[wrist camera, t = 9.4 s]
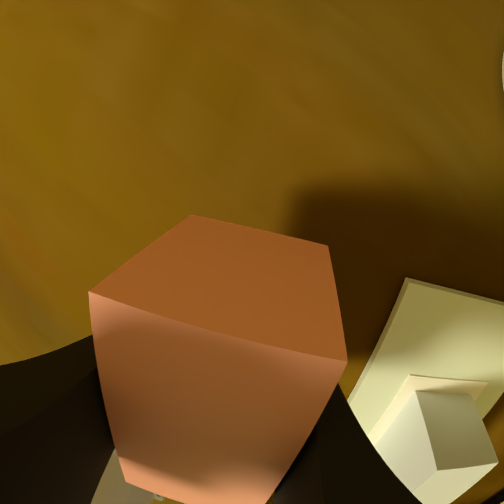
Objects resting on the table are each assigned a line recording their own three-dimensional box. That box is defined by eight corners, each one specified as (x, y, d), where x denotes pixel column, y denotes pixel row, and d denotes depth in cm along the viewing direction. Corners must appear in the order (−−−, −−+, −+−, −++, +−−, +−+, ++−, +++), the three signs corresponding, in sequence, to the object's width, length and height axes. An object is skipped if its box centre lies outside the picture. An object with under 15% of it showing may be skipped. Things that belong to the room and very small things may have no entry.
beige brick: (411, 463, 15) (420, 523, 11) (360, 462, 16) (362, 528, 11) (470, 394, 13) (498, 462, 8) (414, 390, 13) (437, 470, 8)
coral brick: (273, 409, 11) (253, 519, 7) (175, 383, 12) (125, 481, 7) (327, 245, 9) (347, 361, 4) (191, 214, 9) (88, 291, 4)
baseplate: (404, 490, 18) (405, 495, 17) (291, 485, 18) (290, 491, 18) (544, 312, 11) (549, 318, 10) (405, 277, 12) (409, 283, 11)
